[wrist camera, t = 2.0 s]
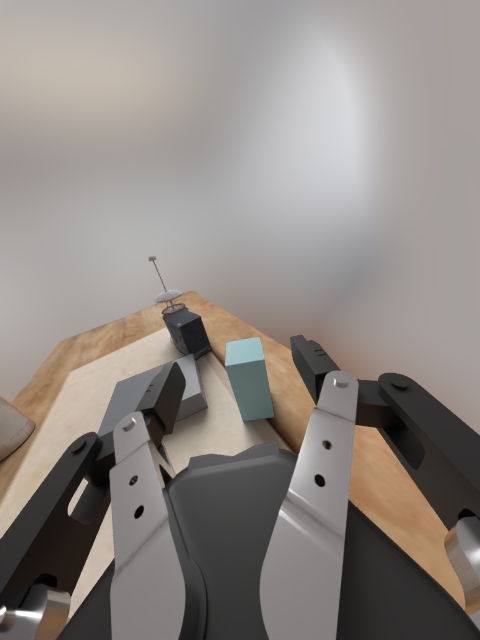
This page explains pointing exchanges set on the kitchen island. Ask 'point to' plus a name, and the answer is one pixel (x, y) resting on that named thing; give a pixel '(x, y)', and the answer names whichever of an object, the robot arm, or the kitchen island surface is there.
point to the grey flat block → (135, 387)
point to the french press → (168, 298)
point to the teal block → (249, 378)
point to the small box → (188, 333)
